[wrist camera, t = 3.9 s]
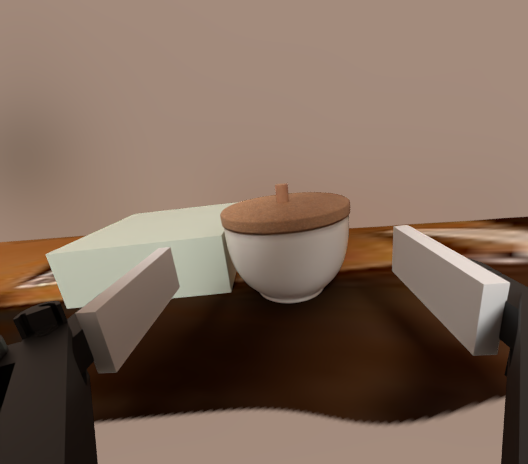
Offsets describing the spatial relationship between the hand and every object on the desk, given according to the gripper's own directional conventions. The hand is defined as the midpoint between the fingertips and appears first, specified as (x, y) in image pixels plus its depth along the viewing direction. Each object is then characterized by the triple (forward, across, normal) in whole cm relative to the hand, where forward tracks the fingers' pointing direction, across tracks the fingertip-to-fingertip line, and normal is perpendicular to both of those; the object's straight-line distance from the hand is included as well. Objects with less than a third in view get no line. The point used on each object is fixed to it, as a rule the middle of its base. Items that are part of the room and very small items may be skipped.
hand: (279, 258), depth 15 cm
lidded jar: (+7, 0, -6) cm, 10 cm away
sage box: (+14, -14, -6) cm, 21 cm away
